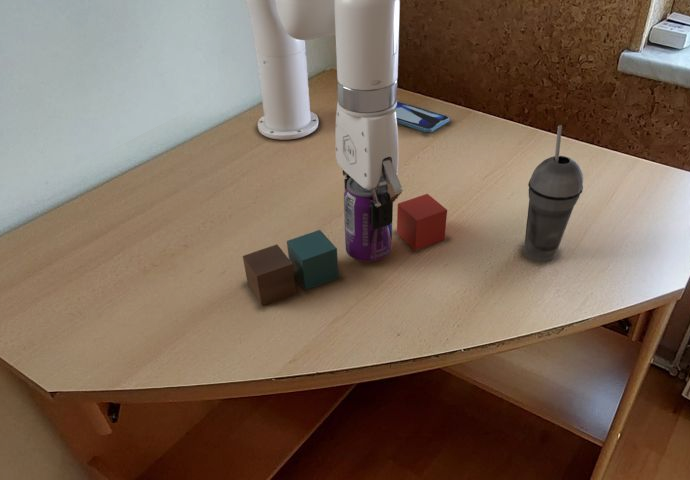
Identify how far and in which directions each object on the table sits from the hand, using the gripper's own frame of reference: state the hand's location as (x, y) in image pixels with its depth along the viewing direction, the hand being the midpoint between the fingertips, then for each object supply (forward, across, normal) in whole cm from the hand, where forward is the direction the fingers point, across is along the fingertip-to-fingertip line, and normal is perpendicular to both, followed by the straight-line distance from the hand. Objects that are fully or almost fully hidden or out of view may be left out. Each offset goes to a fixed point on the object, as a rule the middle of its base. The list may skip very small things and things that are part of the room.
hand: (368, 212), depth 91 cm
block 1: (+8, 0, -16) cm, 18 cm away
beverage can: (+7, 0, 0) cm, 7 cm away
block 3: (+8, 0, +10) cm, 12 cm away
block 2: (+8, 0, -10) cm, 12 cm away
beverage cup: (+8, +13, +22) cm, 27 cm away
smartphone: (+8, -36, +30) cm, 48 cm away
